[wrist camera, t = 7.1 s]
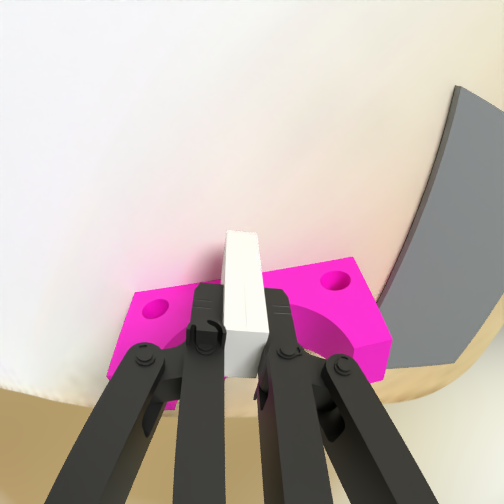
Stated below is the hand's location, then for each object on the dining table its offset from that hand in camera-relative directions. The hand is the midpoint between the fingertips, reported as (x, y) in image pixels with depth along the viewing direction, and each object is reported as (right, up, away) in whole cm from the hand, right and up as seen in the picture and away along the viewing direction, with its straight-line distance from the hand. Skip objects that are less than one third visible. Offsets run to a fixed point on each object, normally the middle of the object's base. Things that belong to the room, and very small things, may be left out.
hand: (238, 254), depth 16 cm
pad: (+18, -1, +5) cm, 18 cm away
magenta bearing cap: (0, -4, +6) cm, 7 cm away
